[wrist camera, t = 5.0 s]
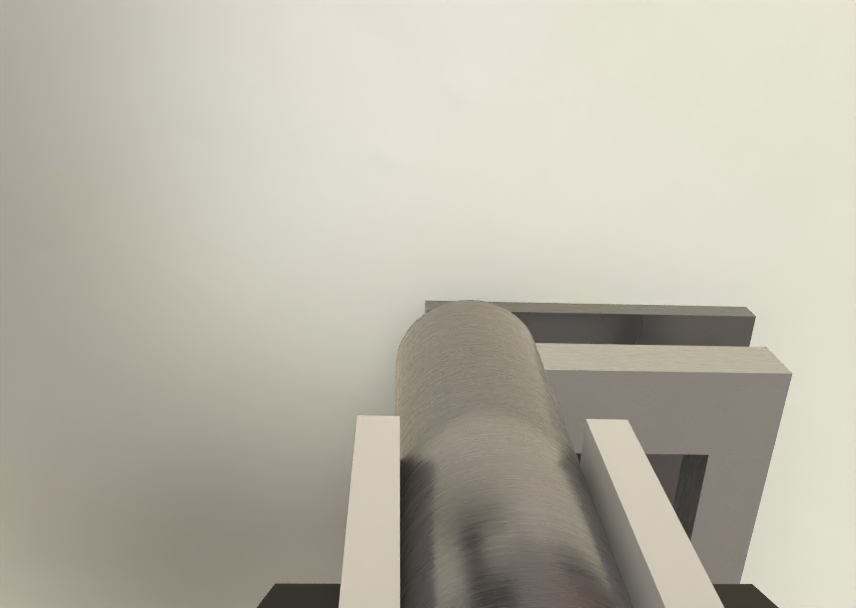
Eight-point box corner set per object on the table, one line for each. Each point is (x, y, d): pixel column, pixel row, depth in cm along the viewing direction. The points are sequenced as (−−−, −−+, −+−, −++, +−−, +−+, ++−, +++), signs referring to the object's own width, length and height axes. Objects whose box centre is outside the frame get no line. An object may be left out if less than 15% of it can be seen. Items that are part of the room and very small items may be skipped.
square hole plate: (426, 279, 33) (449, 529, 18) (750, 285, 33) (1029, 533, 19) (414, 590, 39) (424, 958, 25) (684, 590, 40) (851, 949, 25)
